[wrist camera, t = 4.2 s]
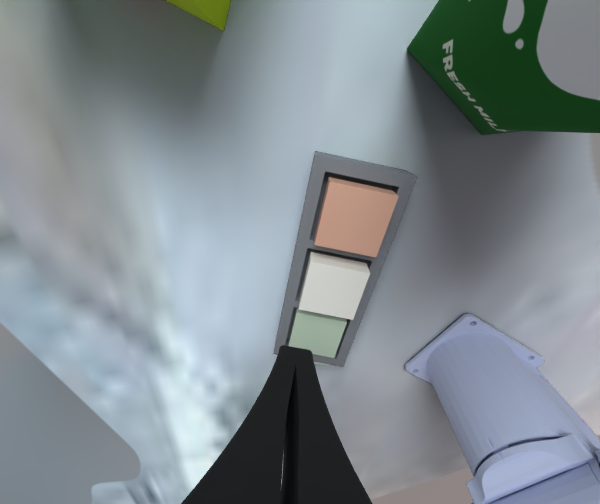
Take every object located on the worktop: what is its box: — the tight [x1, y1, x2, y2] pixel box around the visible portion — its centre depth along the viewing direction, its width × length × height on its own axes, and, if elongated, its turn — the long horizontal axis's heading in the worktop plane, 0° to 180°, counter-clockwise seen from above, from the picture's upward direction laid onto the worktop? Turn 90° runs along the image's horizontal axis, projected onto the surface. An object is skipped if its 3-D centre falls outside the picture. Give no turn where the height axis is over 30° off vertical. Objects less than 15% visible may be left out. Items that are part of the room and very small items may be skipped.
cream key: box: [299, 252, 370, 320], centre depth 18 cm, size 4×4×1 cm
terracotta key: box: [314, 177, 399, 257], centre depth 16 cm, size 4×4×1 cm
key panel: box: [273, 151, 417, 367], centre depth 20 cm, size 17×6×2 cm, turn 169°
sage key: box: [288, 308, 347, 358], centre depth 22 cm, size 4×4×1 cm
